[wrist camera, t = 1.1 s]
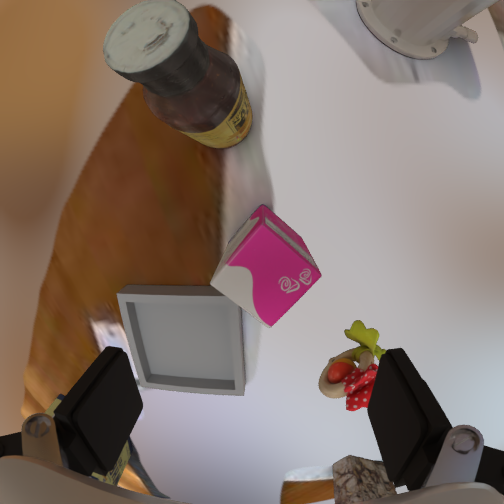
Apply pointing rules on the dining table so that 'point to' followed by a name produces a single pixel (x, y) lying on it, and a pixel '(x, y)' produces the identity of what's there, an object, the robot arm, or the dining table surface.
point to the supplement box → (265, 267)
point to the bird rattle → (353, 369)
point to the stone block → (360, 480)
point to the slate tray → (184, 338)
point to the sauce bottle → (180, 73)
